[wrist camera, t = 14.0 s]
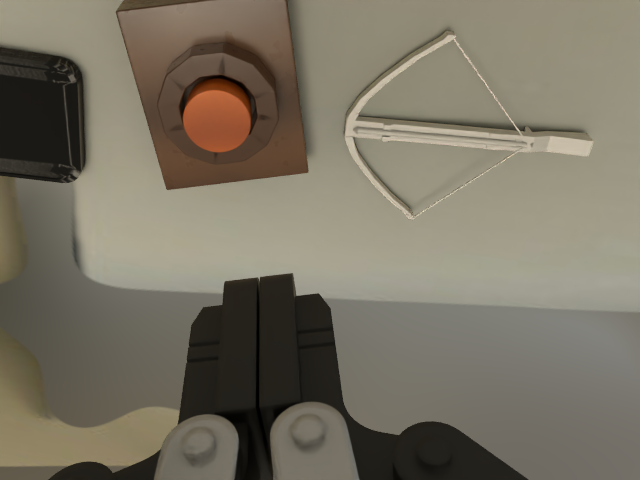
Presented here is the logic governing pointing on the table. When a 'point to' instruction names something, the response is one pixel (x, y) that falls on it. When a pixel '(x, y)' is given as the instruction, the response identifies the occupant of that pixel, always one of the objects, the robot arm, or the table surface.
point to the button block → (224, 63)
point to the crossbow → (448, 130)
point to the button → (217, 115)
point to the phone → (40, 117)
